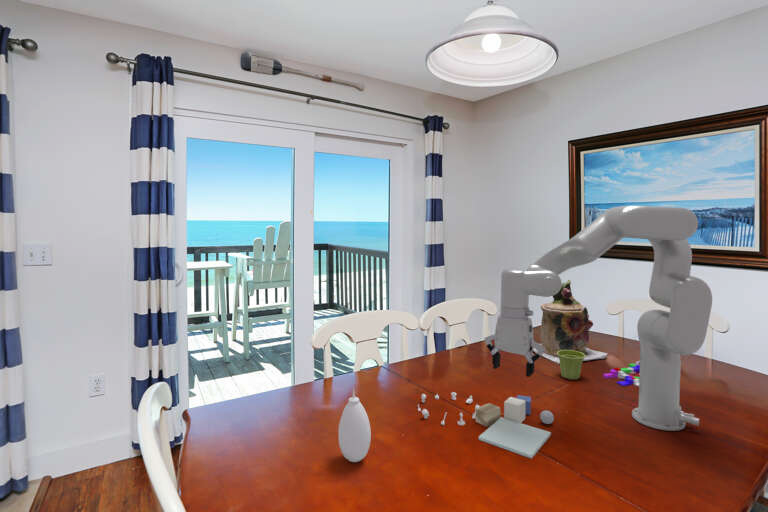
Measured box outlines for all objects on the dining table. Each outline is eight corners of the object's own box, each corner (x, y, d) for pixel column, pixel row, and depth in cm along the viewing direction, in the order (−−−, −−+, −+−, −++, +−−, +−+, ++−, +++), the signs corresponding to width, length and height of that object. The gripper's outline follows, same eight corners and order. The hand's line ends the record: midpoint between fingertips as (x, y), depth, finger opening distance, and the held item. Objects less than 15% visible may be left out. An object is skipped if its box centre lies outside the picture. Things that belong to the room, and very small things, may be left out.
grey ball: (555, 422, 115) (555, 410, 115) (551, 427, 113) (551, 415, 112) (542, 419, 118) (542, 407, 117) (538, 423, 115) (538, 411, 115)
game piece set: (431, 432, 112) (431, 418, 112) (407, 402, 131) (407, 390, 131) (494, 421, 117) (494, 408, 117) (462, 394, 136) (462, 383, 136)
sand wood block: (500, 421, 117) (500, 407, 117) (486, 427, 114) (486, 413, 113) (489, 415, 120) (489, 402, 120) (475, 422, 117) (475, 408, 117)
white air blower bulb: (371, 450, 103) (369, 381, 101) (371, 469, 95) (369, 394, 93) (340, 451, 102) (338, 382, 101) (337, 470, 95) (335, 395, 93)
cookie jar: (522, 348, 185) (523, 278, 182) (566, 343, 192) (567, 275, 190) (561, 366, 161) (562, 286, 159) (610, 359, 168) (612, 282, 166)
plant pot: (589, 381, 145) (590, 357, 144) (562, 381, 145) (563, 358, 144) (577, 372, 154) (578, 349, 153) (552, 372, 154) (552, 350, 154)
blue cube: (530, 409, 124) (530, 396, 124) (530, 415, 120) (530, 402, 120) (517, 407, 125) (517, 395, 125) (516, 413, 122) (516, 400, 121)
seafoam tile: (550, 435, 109) (550, 432, 109) (531, 458, 98) (531, 455, 98) (501, 419, 118) (501, 417, 118) (478, 439, 107) (478, 436, 107)
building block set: (640, 395, 134) (640, 382, 133) (593, 374, 153) (593, 362, 153) (698, 386, 140) (698, 374, 140) (645, 367, 160) (646, 355, 160)
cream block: (525, 419, 118) (525, 400, 118) (519, 425, 115) (519, 406, 114) (510, 414, 121) (510, 396, 120) (504, 420, 117) (504, 401, 117)
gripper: (550, 314, 112) (547, 375, 113) (491, 306, 123) (490, 361, 125) (540, 319, 106) (538, 382, 108) (480, 310, 118) (478, 368, 119)
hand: (512, 371), depth 116 cm, fingers open, 9 cm apart
